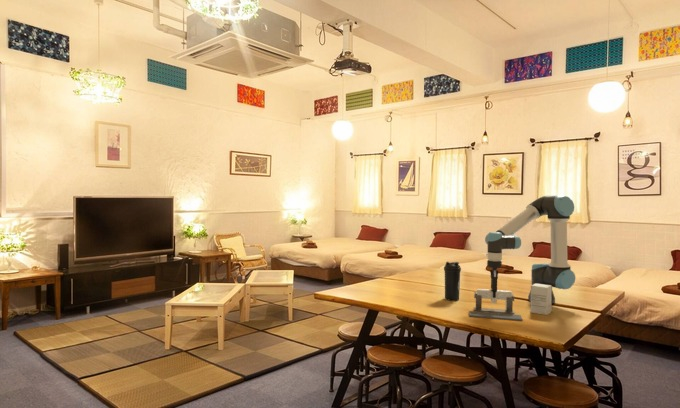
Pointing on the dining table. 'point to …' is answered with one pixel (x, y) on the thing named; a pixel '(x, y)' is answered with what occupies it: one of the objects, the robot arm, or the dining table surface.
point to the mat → (495, 315)
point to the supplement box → (541, 298)
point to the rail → (500, 294)
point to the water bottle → (452, 281)
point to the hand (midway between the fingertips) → (493, 302)
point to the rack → (508, 309)
